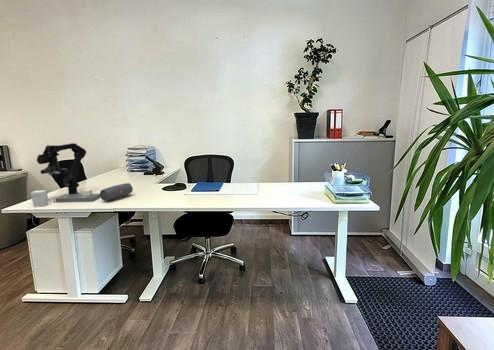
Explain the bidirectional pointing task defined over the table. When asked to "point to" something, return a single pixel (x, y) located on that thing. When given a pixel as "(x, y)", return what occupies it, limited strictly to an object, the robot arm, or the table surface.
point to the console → (77, 198)
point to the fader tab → (87, 192)
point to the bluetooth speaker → (116, 192)
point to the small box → (40, 198)
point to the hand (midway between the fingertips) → (56, 182)
